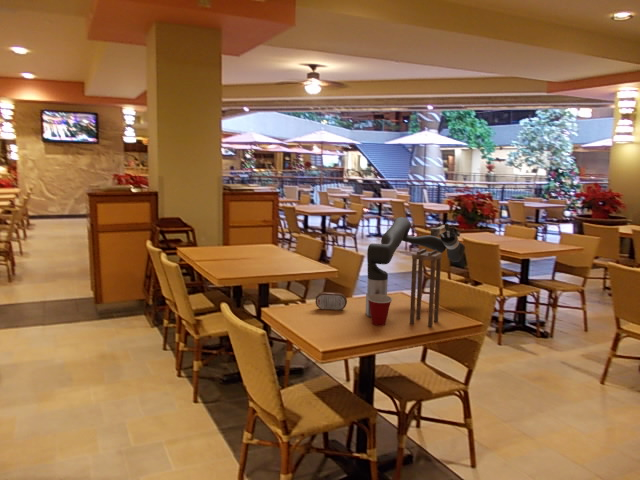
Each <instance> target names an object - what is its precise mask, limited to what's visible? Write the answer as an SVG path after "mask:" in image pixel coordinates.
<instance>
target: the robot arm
mask: <svg viewBox="0 0 640 480" xmlns="http://www.w3.org/2000/svg"><path fill="white" fill-rule="evenodd" d="M442 225H443V224H442V223H441V222H439V223H438V224H437V225H436V226H435V227H434V228H438V227H440V226H442ZM444 225H445V229H446V232H444V233H442V234H440V235H439V236H431V234H430V235H421V236H412V235H409V233H410V230H411V228H412V223H411V221H410V220H409V219H408V218H406V217H404V216H403V217H402V216H401V217H396V218H395V219H394V220H393V222H392V225H391V226H390V227H389V228H388V229H387V231H385V233H384V234H383V235H382V237H381V239H380V242H381V243H373V242H372V243H369V245H368V247H367V252H366V257H367V258H366V259H367V285H366V287H367V289H366V294H365V314H366V316H367V317H369V318H370V317H371V313H370V305H369V300H368V298H367V297H368V296H369V295H373V294H381V295H387V296H388V286H389V285H388V284H389V283H388V282H389V280H388V279H389V278H388V277H389V273H388V272H387V271H385V270H383V269H381V268H379V267H378V265H388V264H390V262H391V261H392V258H393V256H394V254H395V252H396V250H397V249H398V248H399V247H400V245H401V244H402V242H404V243H405V242H406V243H409V244H414V245H417V246H421V247H424V248H426V249H427V248H428V249H431V251H433V250H437V253H442V254H443V253H444V252H445V251H446V256H447V259H448V260H450V261H451V262H453V263H458V262H460V261H461V260H462V259H463V255H464V252H465V251H466V250H465V248H466V246H465V245H464V244H463V243H462V242H460V241H459V238H460V237H461V231H460V230H459V229H457V228H456V227H454V226H452V227H451V226H450V225H449V224H448V223H446V222H445V223H444Z"/></svg>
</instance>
